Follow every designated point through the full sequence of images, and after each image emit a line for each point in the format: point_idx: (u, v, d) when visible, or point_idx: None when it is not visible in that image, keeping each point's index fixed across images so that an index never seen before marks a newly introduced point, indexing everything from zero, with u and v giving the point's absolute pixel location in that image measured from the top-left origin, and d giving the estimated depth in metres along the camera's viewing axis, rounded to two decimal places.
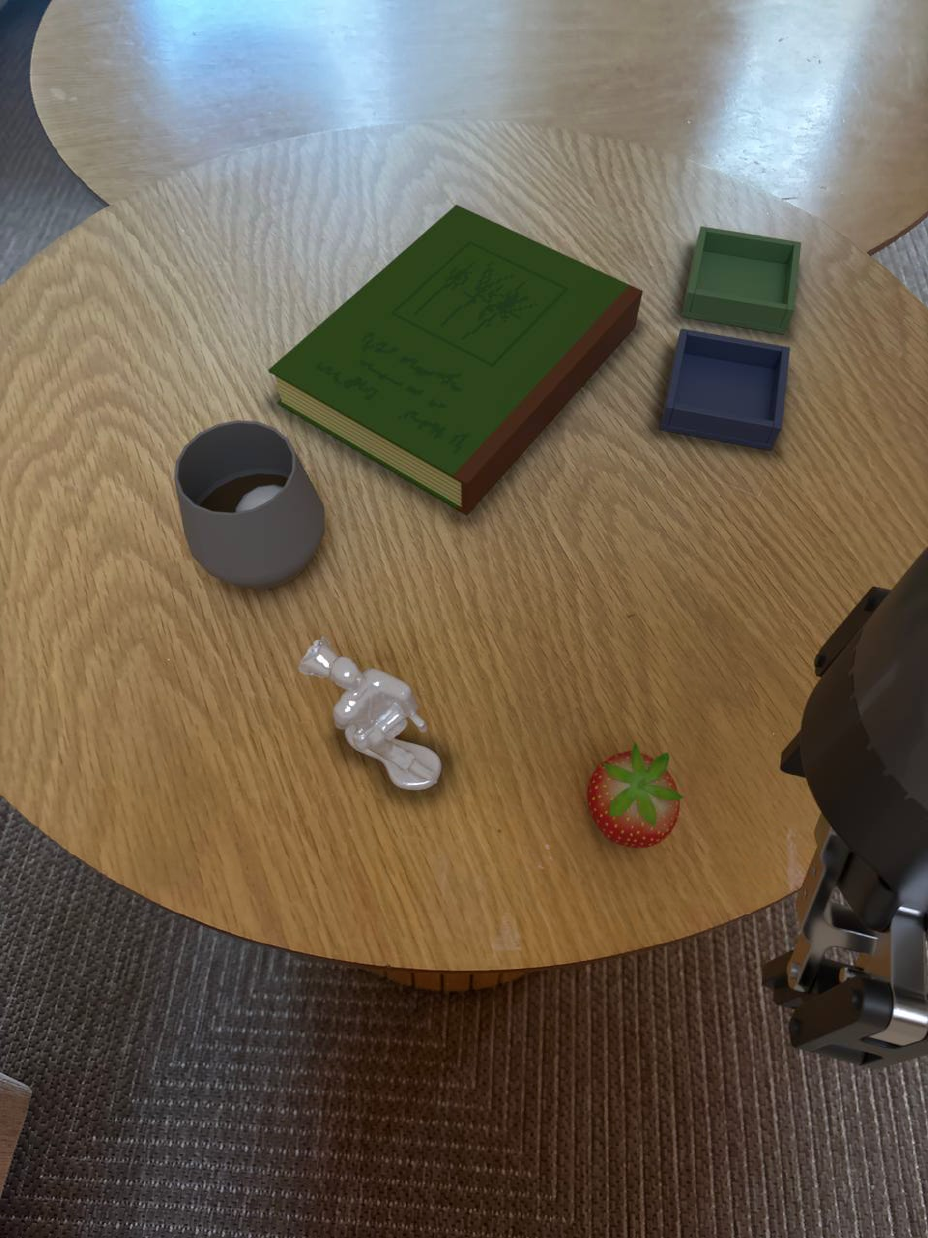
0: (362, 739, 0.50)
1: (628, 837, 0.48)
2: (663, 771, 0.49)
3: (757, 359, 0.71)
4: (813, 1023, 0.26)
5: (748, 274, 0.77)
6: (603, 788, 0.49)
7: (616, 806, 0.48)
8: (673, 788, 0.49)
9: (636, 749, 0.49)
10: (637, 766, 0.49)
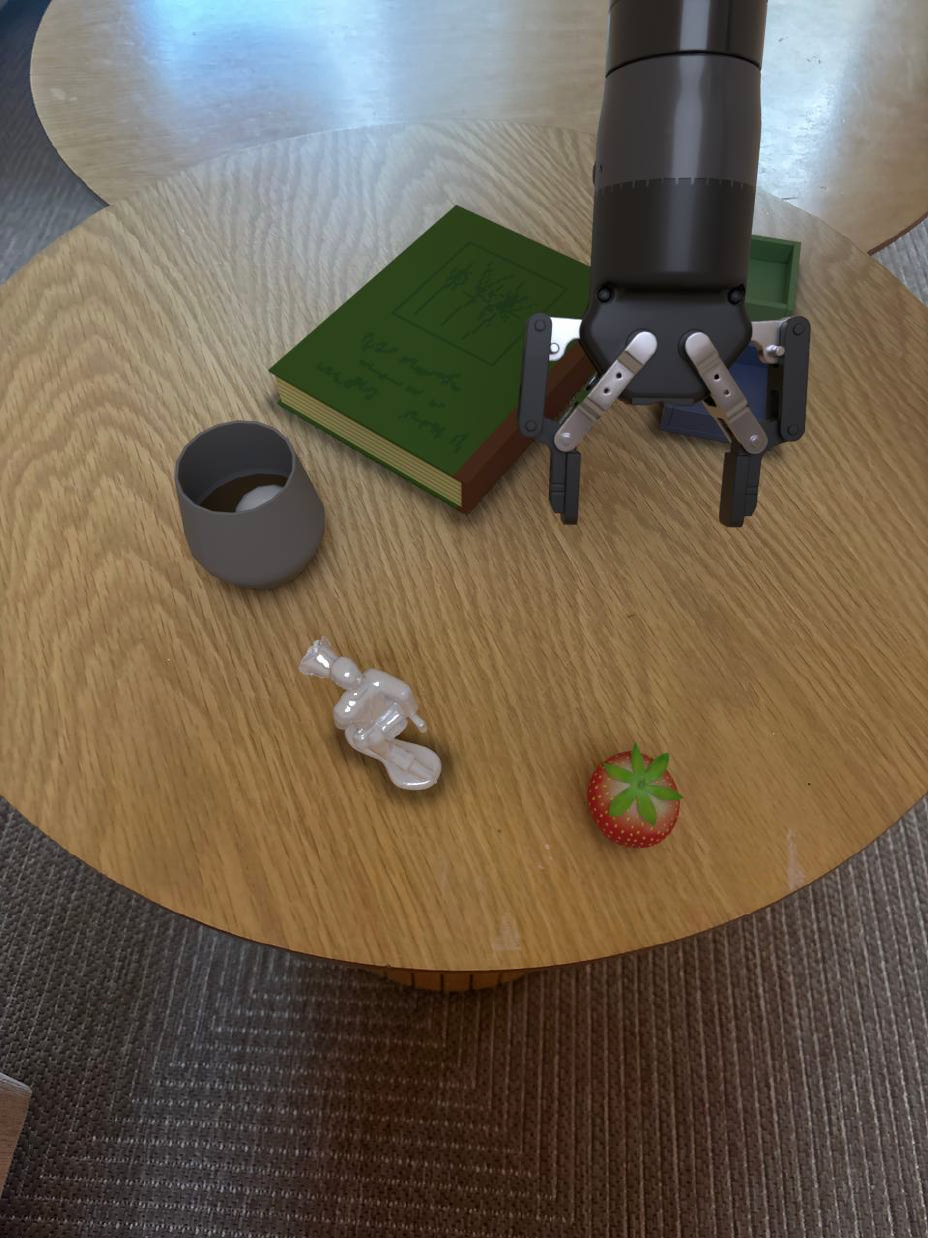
0: (362, 739, 0.50)
1: (628, 837, 0.48)
2: (663, 771, 0.49)
3: (757, 359, 0.71)
4: None
5: (748, 274, 0.77)
6: (603, 788, 0.49)
7: (616, 806, 0.48)
8: (673, 788, 0.49)
9: (636, 749, 0.49)
10: (637, 766, 0.49)
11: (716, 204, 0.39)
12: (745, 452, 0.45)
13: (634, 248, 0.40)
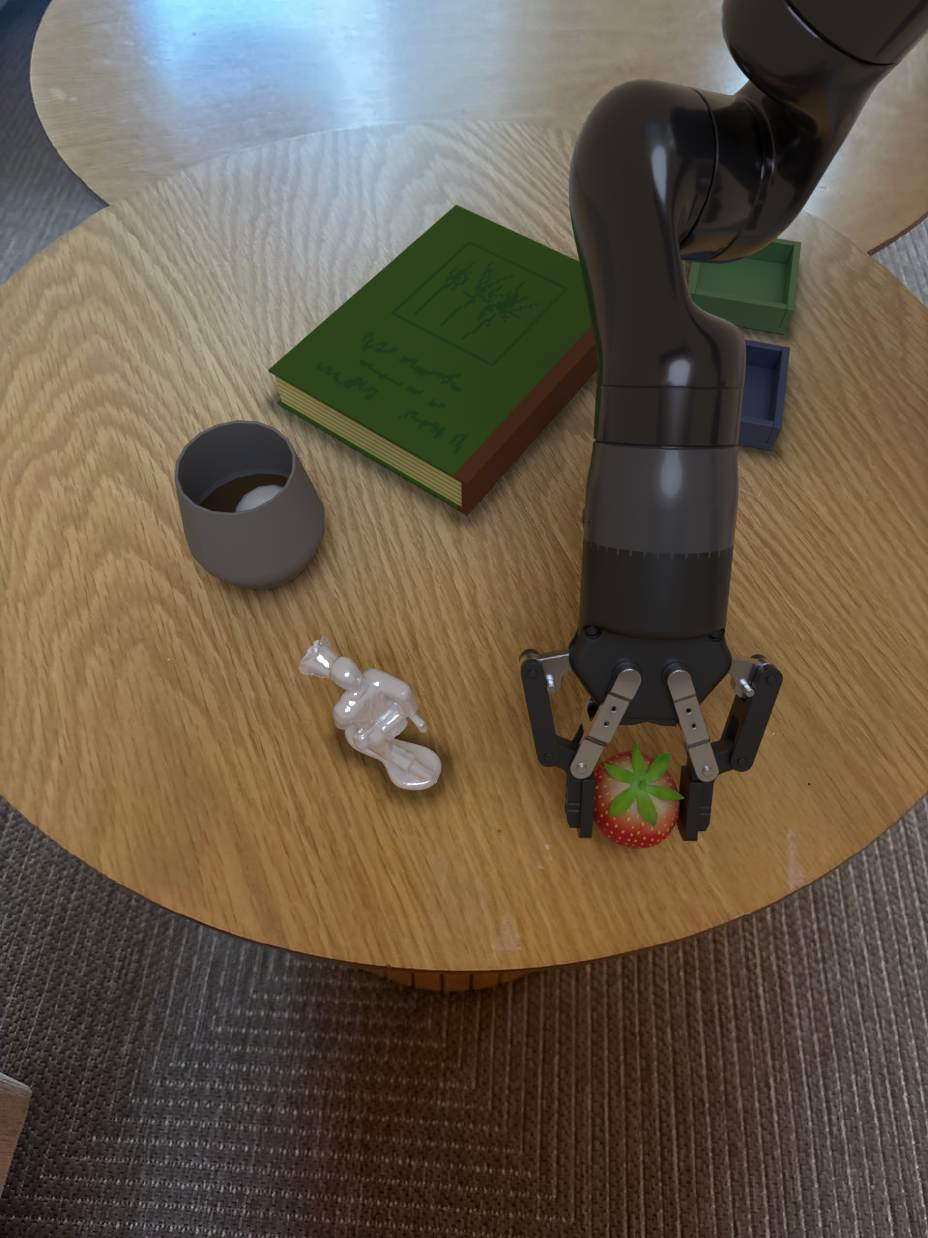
0: (362, 739, 0.50)
1: (628, 837, 0.48)
2: (663, 771, 0.49)
3: (757, 359, 0.71)
4: None
5: (748, 274, 0.77)
6: (603, 788, 0.49)
7: (616, 806, 0.48)
8: (674, 789, 0.49)
9: (637, 749, 0.49)
10: (638, 766, 0.49)
11: (694, 574, 0.42)
12: None
13: (619, 606, 0.43)
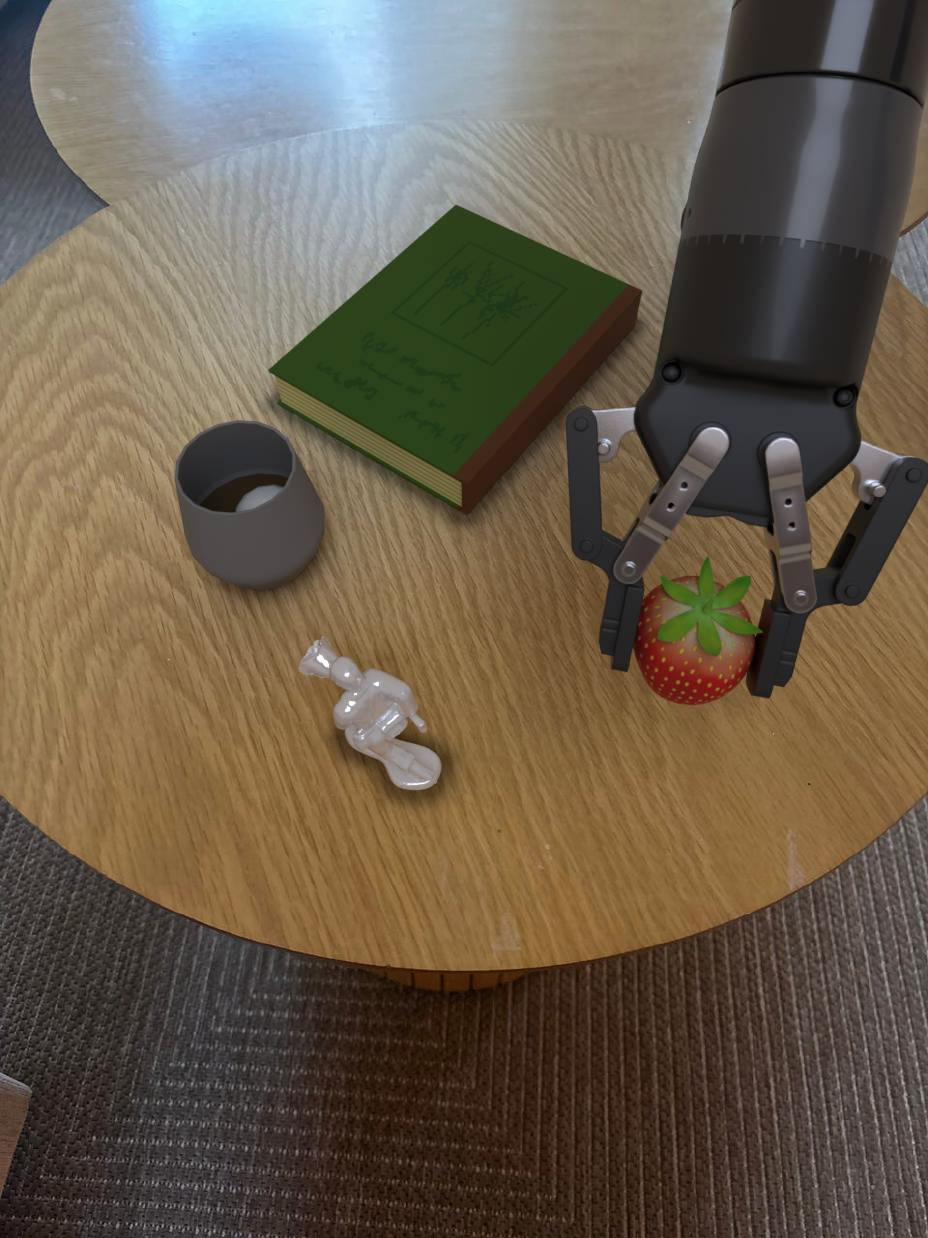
0: (362, 739, 0.50)
1: (677, 677, 0.36)
2: (739, 598, 0.36)
3: None
4: None
5: None
6: (655, 609, 0.37)
7: (668, 630, 0.35)
8: None
9: (708, 565, 0.37)
10: (705, 588, 0.36)
11: (831, 278, 0.29)
12: (786, 608, 0.35)
13: (714, 321, 0.31)
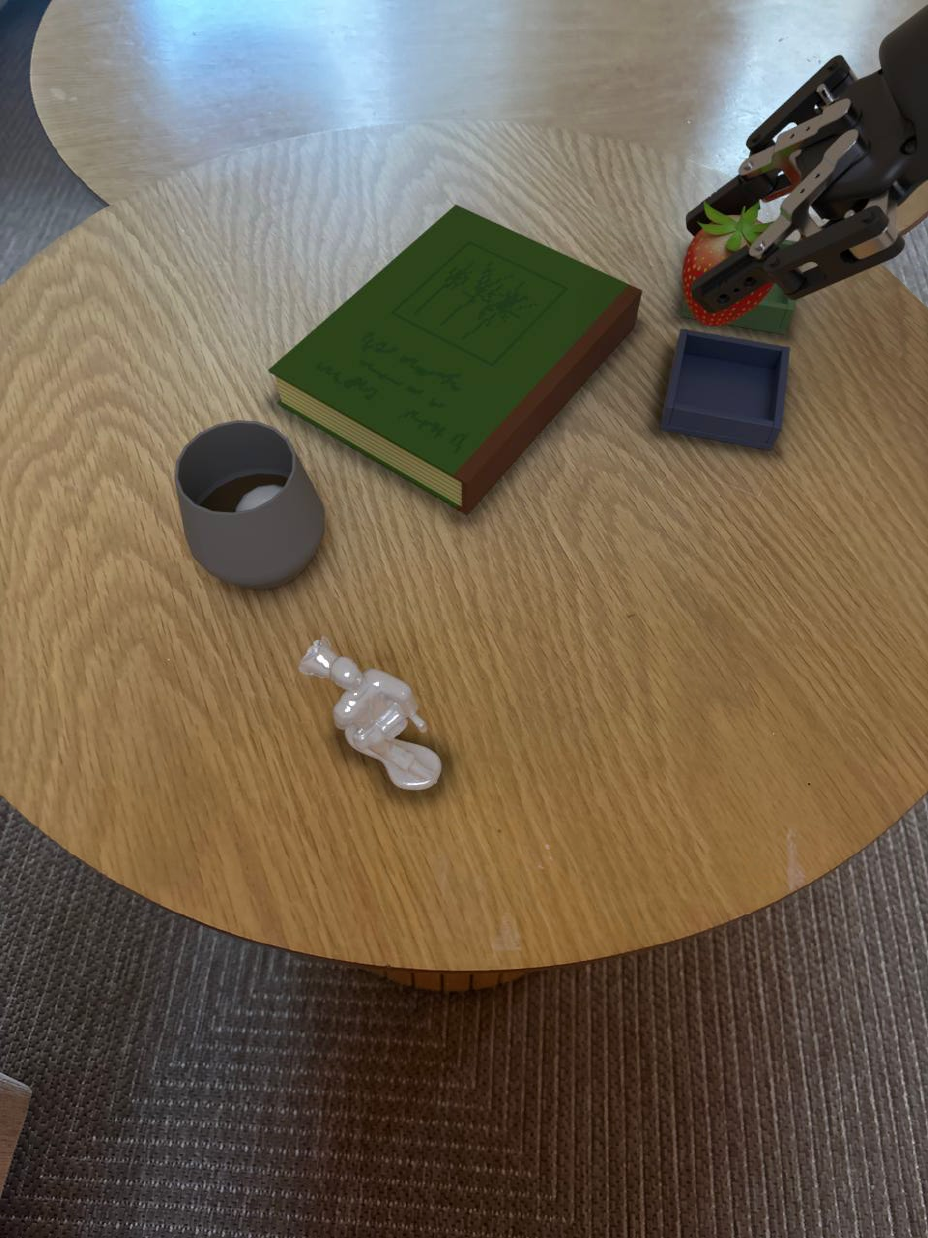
0: (362, 739, 0.50)
1: (689, 246, 0.50)
2: None
3: (757, 359, 0.71)
4: None
5: None
6: None
7: (715, 214, 0.49)
8: None
9: None
10: (760, 230, 0.48)
11: None
12: None
13: None
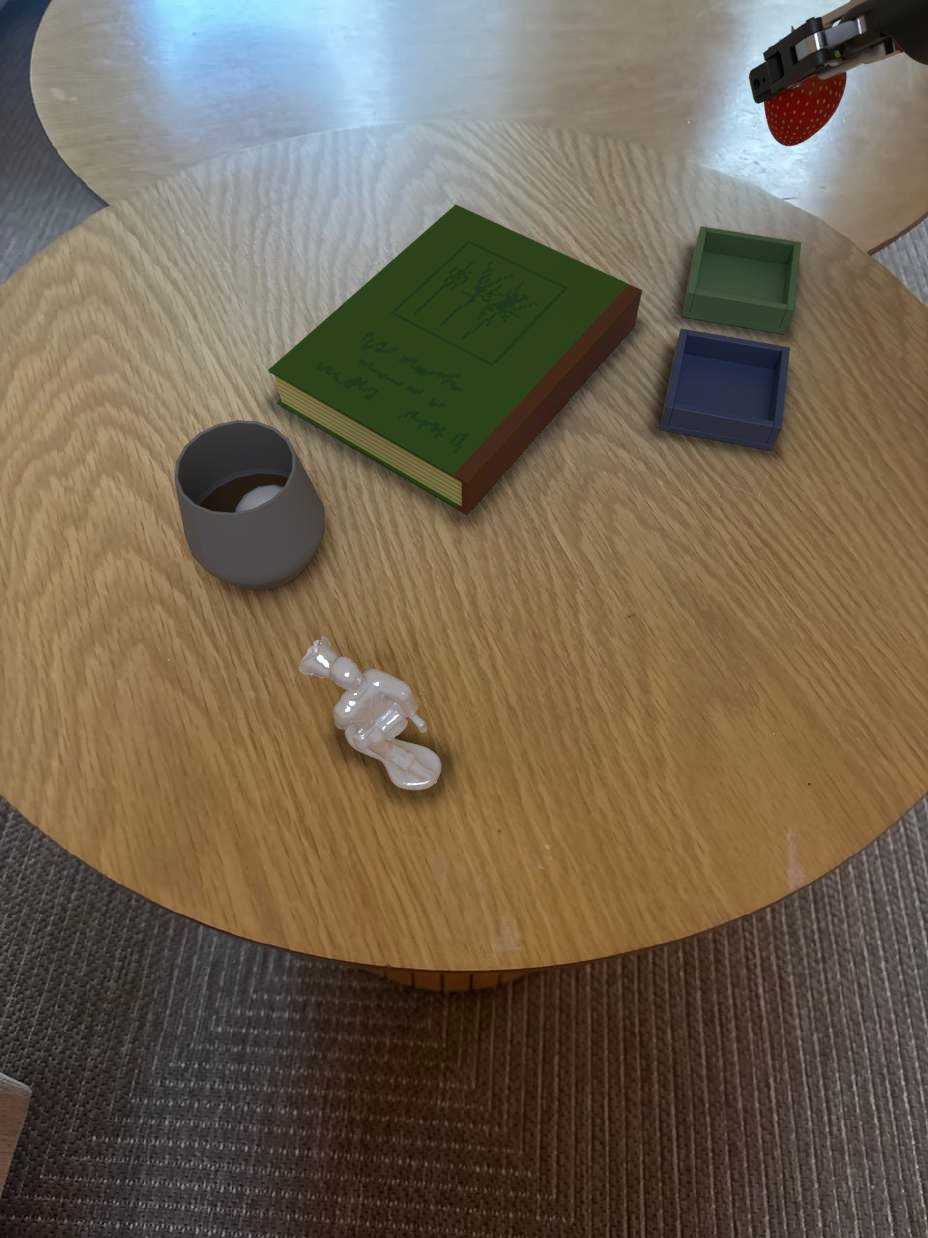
0: (362, 739, 0.50)
1: None
2: None
3: (757, 359, 0.71)
4: None
5: (748, 274, 0.77)
6: None
7: None
8: None
9: (838, 61, 0.59)
10: None
11: None
12: None
13: None
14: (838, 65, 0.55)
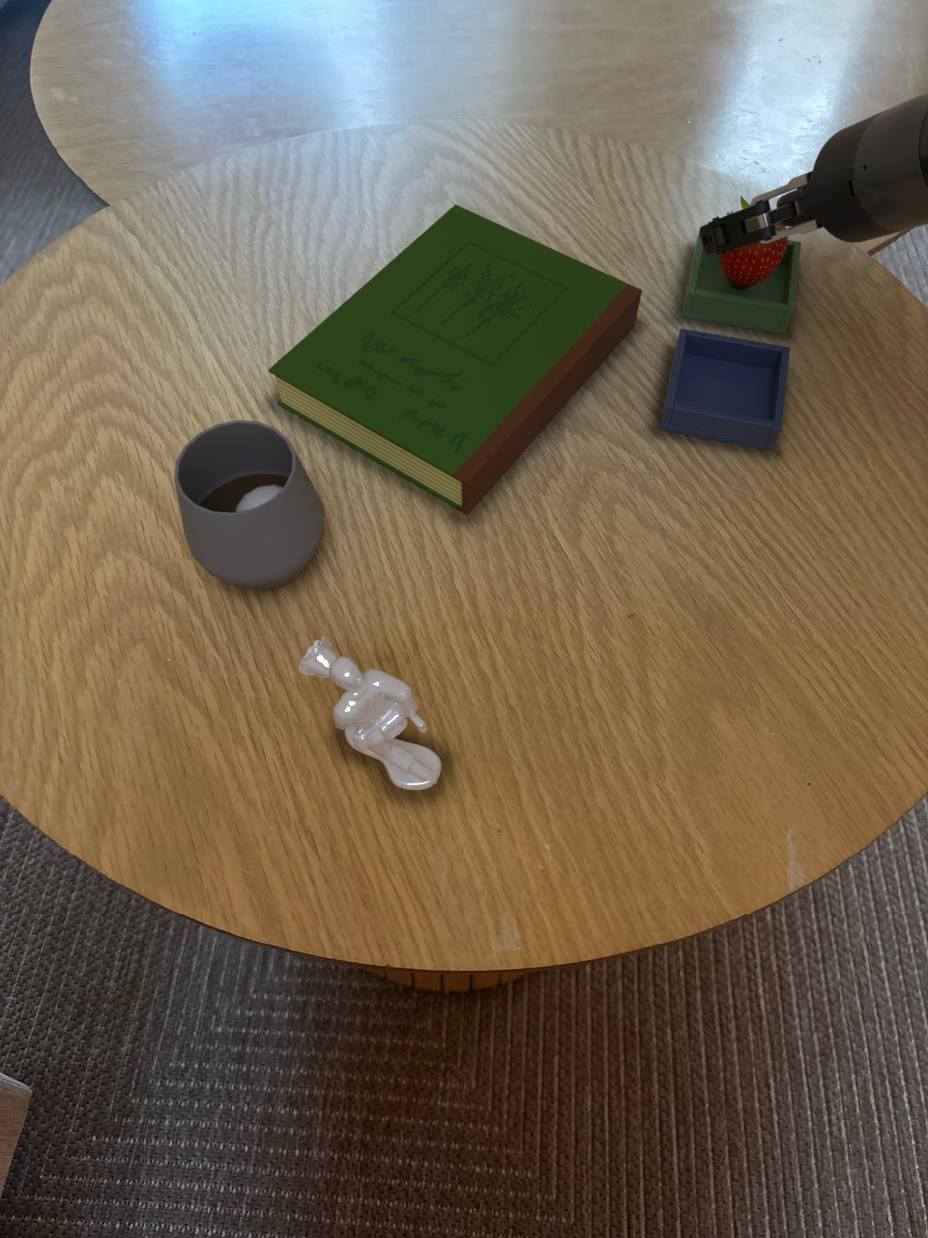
0: (362, 739, 0.50)
1: None
2: None
3: (757, 359, 0.71)
4: None
5: None
6: None
7: None
8: None
9: (779, 229, 0.70)
10: None
11: (863, 122, 0.57)
12: None
13: None
14: (777, 233, 0.65)
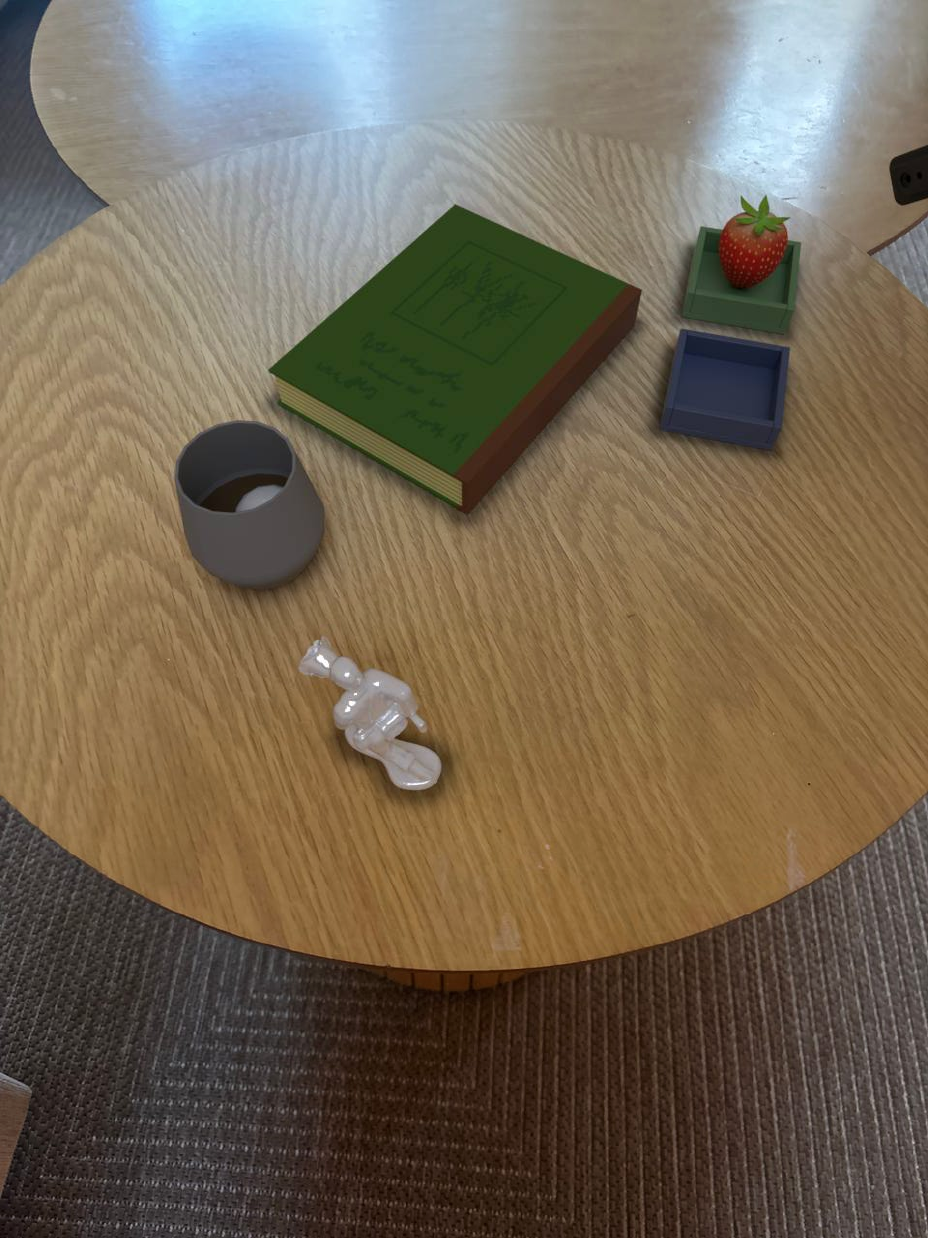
0: (362, 739, 0.50)
1: None
2: (754, 229, 0.70)
3: (757, 359, 0.71)
4: None
5: None
6: None
7: (765, 206, 0.72)
8: (739, 237, 0.71)
9: (779, 229, 0.70)
10: (770, 228, 0.70)
11: None
12: None
13: None
14: None
